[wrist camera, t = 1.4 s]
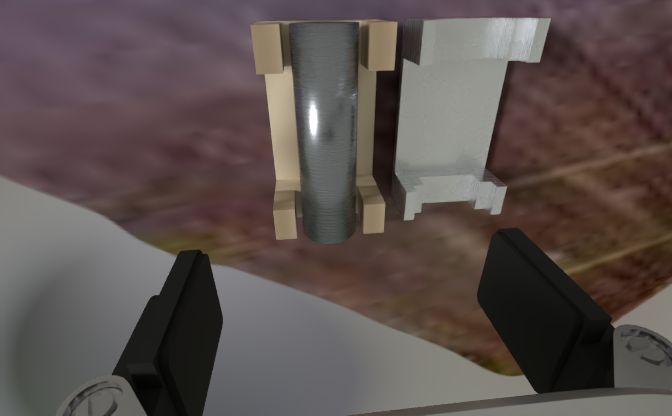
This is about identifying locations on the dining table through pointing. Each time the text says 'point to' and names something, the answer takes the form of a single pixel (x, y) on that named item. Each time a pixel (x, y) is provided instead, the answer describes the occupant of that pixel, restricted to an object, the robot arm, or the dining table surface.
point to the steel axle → (326, 125)
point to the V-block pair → (454, 106)
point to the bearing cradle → (277, 68)
